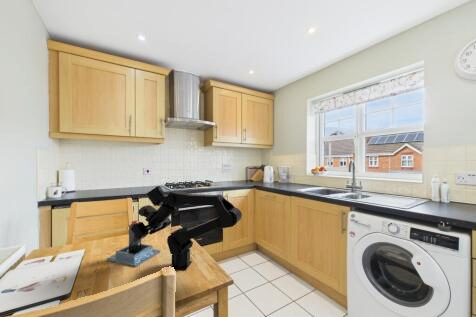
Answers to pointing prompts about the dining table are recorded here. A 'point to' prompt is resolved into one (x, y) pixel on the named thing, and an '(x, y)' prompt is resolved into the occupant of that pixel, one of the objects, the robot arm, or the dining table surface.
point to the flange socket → (134, 255)
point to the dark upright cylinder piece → (133, 246)
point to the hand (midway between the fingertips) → (141, 237)
